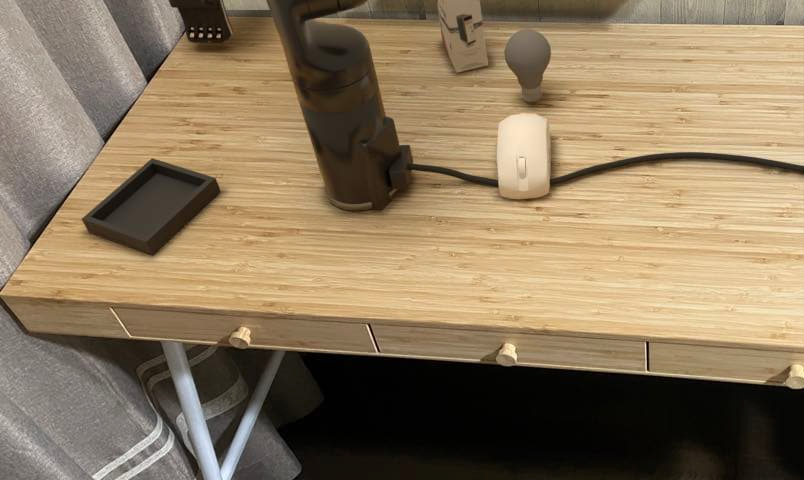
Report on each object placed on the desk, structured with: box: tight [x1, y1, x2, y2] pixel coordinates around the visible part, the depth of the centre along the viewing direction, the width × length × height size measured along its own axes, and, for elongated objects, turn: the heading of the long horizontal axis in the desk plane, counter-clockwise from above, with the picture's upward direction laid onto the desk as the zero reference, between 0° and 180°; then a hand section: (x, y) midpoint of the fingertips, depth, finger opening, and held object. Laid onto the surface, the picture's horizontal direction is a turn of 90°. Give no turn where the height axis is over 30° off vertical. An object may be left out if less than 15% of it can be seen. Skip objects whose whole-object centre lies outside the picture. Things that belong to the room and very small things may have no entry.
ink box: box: [435, 0, 489, 73], centre depth 139 cm, size 9×5×12 cm, turn 17°
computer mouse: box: [495, 112, 552, 200], centre depth 123 cm, size 6×13×6 cm, turn 0°
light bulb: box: [503, 28, 552, 102], centre depth 131 cm, size 6×6×10 cm
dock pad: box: [81, 157, 221, 256], centre depth 124 cm, size 11×13×2 cm
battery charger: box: [168, 0, 234, 44], centre depth 145 cm, size 7×4×11 cm, turn 80°
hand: (186, 1), depth 143 cm, fingers closed on battery charger, 7 cm apart
